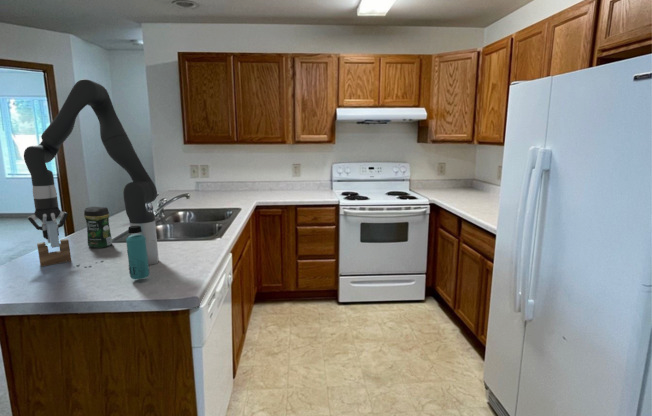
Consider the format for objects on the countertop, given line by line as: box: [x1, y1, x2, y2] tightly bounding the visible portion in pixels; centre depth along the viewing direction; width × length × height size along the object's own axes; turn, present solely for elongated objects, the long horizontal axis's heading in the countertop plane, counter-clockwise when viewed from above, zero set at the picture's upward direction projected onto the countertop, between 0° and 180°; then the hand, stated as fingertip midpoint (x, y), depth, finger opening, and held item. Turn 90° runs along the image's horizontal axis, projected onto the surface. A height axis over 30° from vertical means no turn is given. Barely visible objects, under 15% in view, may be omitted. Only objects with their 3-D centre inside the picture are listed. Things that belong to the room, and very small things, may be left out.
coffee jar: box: [83, 206, 113, 249], centre depth 172 cm, size 10×8×19 cm
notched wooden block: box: [36, 238, 72, 267], centre depth 150 cm, size 2×10×9 cm, turn 133°
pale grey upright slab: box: [46, 221, 60, 248], centre depth 149 cm, size 2×12×9 cm, turn 43°
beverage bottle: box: [125, 225, 150, 280], centre depth 132 cm, size 6×7×20 cm
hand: (51, 238), depth 152 cm, fingers closed on pale grey upright slab, 2 cm apart
